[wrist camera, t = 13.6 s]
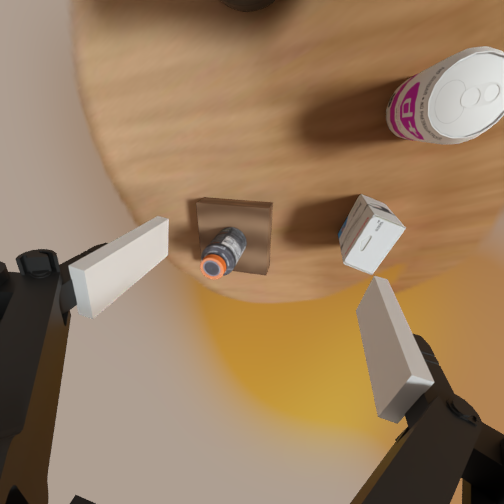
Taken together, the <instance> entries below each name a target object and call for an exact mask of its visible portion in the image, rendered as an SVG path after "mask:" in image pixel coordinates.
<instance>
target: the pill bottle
mask: <svg viewBox="0 0 504 504" xmlns="http://www.w3.org/2000/svg"><path fill="white" fill-rule="evenodd" d="M246 245H247V241H246V237H245V235H244V234H243V232H242V231H240V230H239V229H237V228H234V227H226V228H224V229H222V230H221V231H220V232H219V233H218V234H217V235H216V236H215V238H214V239H213V240H212V241H211V242H210V243H209V244H208V245H207V247H206V248H205V249H204V250H203V252H202V256H201V260H202V262H201V264H200V269H201V272H202V273H203V274H204V276H206V277H207V278H209V279H219V278H221V277H222V276H224V275H227V274H229V273H230V272H232V270H233V269H234V267H235V266H236V264H237V262H238V260H239V259H240V257H241V255H242V253H243V252H244V250H245V248H246Z"/></svg>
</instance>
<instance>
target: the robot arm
mask: <svg viewBox="0 0 504 504" xmlns="http://www.w3.org/2000/svg"><path fill="white" fill-rule="evenodd" d="M221 1H222V2H223V3H224V4H226V5H227V6H229V7H231V8H233V9H236V10H239V11H255V10H259V9H262V8H264V7H266V6H268V5H270V4H271V3H273V2H274V1H275V0H221ZM168 224H169V219H167V218H163V217H160V216H157V217H155V218H153V219H152V220H150V221H148V222H146V223H144V224H143V225H141V226H139V227H137V228H135V229H134V230H132V231H130V232H128V233H126V234H125V235H123V236H121V237H119V238H117V239H116V240H114V241H112V242H110V243H104V244H100V245H96V246H94V247H92V248H90V249H88V250H87V251H85V252H83V253H81V254H80V255H77V256H75V257H73V258H72V259H70V260H68V261H66V262H64V263H62V264H60V265H59V263H58V259H57V255H56V253H55V252H54V251H52V250H47V249H46V250H45V249H38V250H32V251H28V252H25V253H23V254H21V255H19V256H18V257H17V258H16V261H17V265H18V267H19V270H20V273H17V272H8V270H7V268H6V265H5V263H3V262H0V504H48V484H47V475H48V467H49V459H50V454H51V446H52V440H53V433H54V427H55V419H56V413H57V406H58V399H59V393H60V386H61V379H62V372H63V365H64V359H65V352H66V345H67V338H68V332H69V325H70V318H71V314H70V309H72V308H73V307H74V306H76V305H77V308H78V313H79V314H80V315H83V316H85V317H88V318H91V319H94V318H95V317H96V316H97V315H98V314H99V313H101V312H102V311H103V310H104V309H105V308H107V307H108V306H109V305H110V304H111V303H112V302H114V301H115V300H116V299H117V298H118V297H119V296H121V295H122V294H123V293H124V292H125V291H127V289H129V288H130V287H131V286H132V285H133V284H135V283H136V282H137V281H138V280H139V279H141V278H142V277H143V276H144V275H145V274H146V273H148V272H149V271H150V270H151V269H152V268H153V267H155V266H156V265H157V264H158V263H159V262H161V261H162V260H163V259H164V258H165V257H166V256H168ZM356 313H357V318H358V323H359V327H360V332H361V337H362V342H363V347H364V352H365V356H366V361H367V366H368V370H369V375H370V380H371V385H372V390H373V395H374V400H375V405H376V409H377V414H378V417H380V418H383V419H386V420H389V421H391V422H394V423H398V422H399V421H400V420H401V419H402V418H403V417H404V416H405V417H406V420H407V424H408V427H407V428H406V429H405V430H404V431H403V432H402V433H401V434H400V435H399V436H398V437H397V439H396V442H395V444H394V445H393V446H392V448H391V449H390V450H389V452H388V453H387V454H386V456H385V457H384V458H383V460H382V461H381V462H380V464H379V465H378V466H377V468H376V469H375V471H374V472H373V473H372V475H371V476H370V477H369V479H368V480H367V482H366V483H365V484H364V485H363V487H362V488H361V489H360V491H359V492H358V494H357V495H356V496H355V498H354V499H353V500H352V502H351V503H350V504H450V502H451V499H452V497H453V495H454V492H455V490H456V488H457V485H458V483H459V481H460V478H463V485H462V504H504V435H503V434H502V433H500V432H498V431H496V430H495V429H493V428H491V427H489V426H488V425H486V424H484V423H483V422H482V421H481V419H480V417H479V415H478V414H477V412H476V411H475V410H474V409H473V407H472V406H471V405H469V404H468V403H467V402H466V401H465V400H464V399H462V398H460V397H459V396H457V395H455V394H454V392H453V390H452V388H451V386H450V384H449V383H448V380H447V379H446V377H445V375H444V373H443V371H442V369H441V367H440V366H439V363H438V361H437V359H436V357H434V353H433V351H432V349H431V347H430V346H429V345H428V343H427V342H426V341H425V340H424V339H423V338H422V337H421V336H419V335H415V334H412V332H411V330H410V327H409V325H408V323H407V321H406V319H405V317H404V314H403V312H402V310H401V308H400V306H399V304H398V301H397V299H396V297H395V295H394V292H393V290H392V288H391V286H390V284H389V282H388V280H387V279H384V278H380V277H377V276H374V277H373V279H372V281H371V283H370V285H369V287H368V289H367V290H366V292H365V294H364V296H363V298H362V300H361V302H360V304H359V306H358V308H357V310H356ZM70 504H95V503H93V502H91V501H89V500H86V499H84V498H82V497H79V496H77V495H75V497H74V498H73V500H72V501H71V503H70Z"/></svg>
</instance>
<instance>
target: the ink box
mask: <svg viewBox="0 0 504 504" xmlns="http://www.w3.org/2000/svg"><path fill="white" fill-rule="evenodd" d="M405 229H406V227H405V226H404V225H403V224H402V223H401V221H400V220H399V219H398V218H397V217H396V216H395V215H394V214H393V212H392V211H391V210H390V209H389V208H388V207H387V206H386V204H384V203H382V202H379V201H377V200H375V199H372V198H370V197H367V196H365V195H363V194H361V195H359V197H358V199H357V200H356V202H355V204H354V206H353V208H352V209H351V211H350V213H349V215H348V217H347V218H346V220H345V222H344V224H343V226H342V227H341V229H340V231H339V233H338V238H339V243H340V248H341V253H342V258H343V263H344V264H345V265H348V266H350V267H353V268H355V269H358V270H360V271H363V272H366V273H368V274H371V275H372V274H373V273H374V271H375V270H376V269H377V267H378V266H379V265H380V263H381V262H382V260H383V259H384V258H385V256H386V255H387V254H388V252H389V251H390V250H391V248H392V247H393V245H394V244H395V243H396V241H397V240H398V239H399V237H400V236H401V234H402V233H403V232H404V230H405Z"/></svg>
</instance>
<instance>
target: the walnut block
mask: <svg viewBox="0 0 504 504" xmlns="http://www.w3.org/2000/svg"><path fill="white" fill-rule="evenodd" d="M196 207H197V218H198V229H199V239H200V250H201V256H202V252H203V250H204V249H205V248H206V247H207V245H208V244H209V243H210V242H211V241H212V240H213V239H214V238H215V236H216V235H217V234H218V233H219V232H220V231H221V230H222V229H224V228H226V227H234V228H237V229H239V230H240V231H242V232H243V234H244V235H245V237H246V241H247V245H246V248H245V250H244V252H243V253H242V255H241V257H240V259H239V260H238V262H237V264H236V266H235V267H234V269H233V270H232V271H238V272H245V273H252V274H260V275H266V274H267V272H268V269H269V266H270V246H271V227H272V207H273V203H271V202H258V201H245V200H232V199H219V198H206V197H204V198H203V199H201V200H200V201H198V202H196ZM201 261H202V260H201Z"/></svg>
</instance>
